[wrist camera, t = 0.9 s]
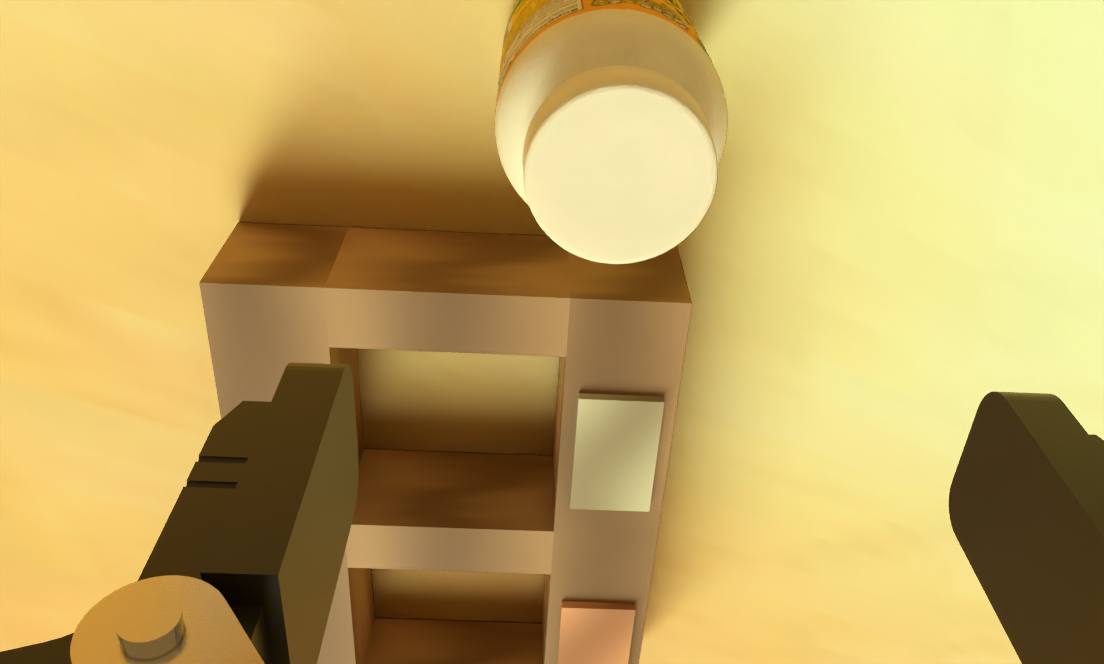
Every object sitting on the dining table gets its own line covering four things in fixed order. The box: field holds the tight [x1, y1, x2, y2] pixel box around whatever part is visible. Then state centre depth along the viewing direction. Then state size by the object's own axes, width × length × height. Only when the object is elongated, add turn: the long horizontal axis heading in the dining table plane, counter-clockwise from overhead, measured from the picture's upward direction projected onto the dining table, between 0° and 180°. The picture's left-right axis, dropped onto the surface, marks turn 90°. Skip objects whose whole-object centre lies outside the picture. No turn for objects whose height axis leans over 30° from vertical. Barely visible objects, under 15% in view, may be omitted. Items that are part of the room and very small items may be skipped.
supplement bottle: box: [495, 0, 728, 264], centre depth 23 cm, size 5×5×10 cm
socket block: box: [200, 222, 692, 664], centre depth 34 cm, size 14×20×4 cm
